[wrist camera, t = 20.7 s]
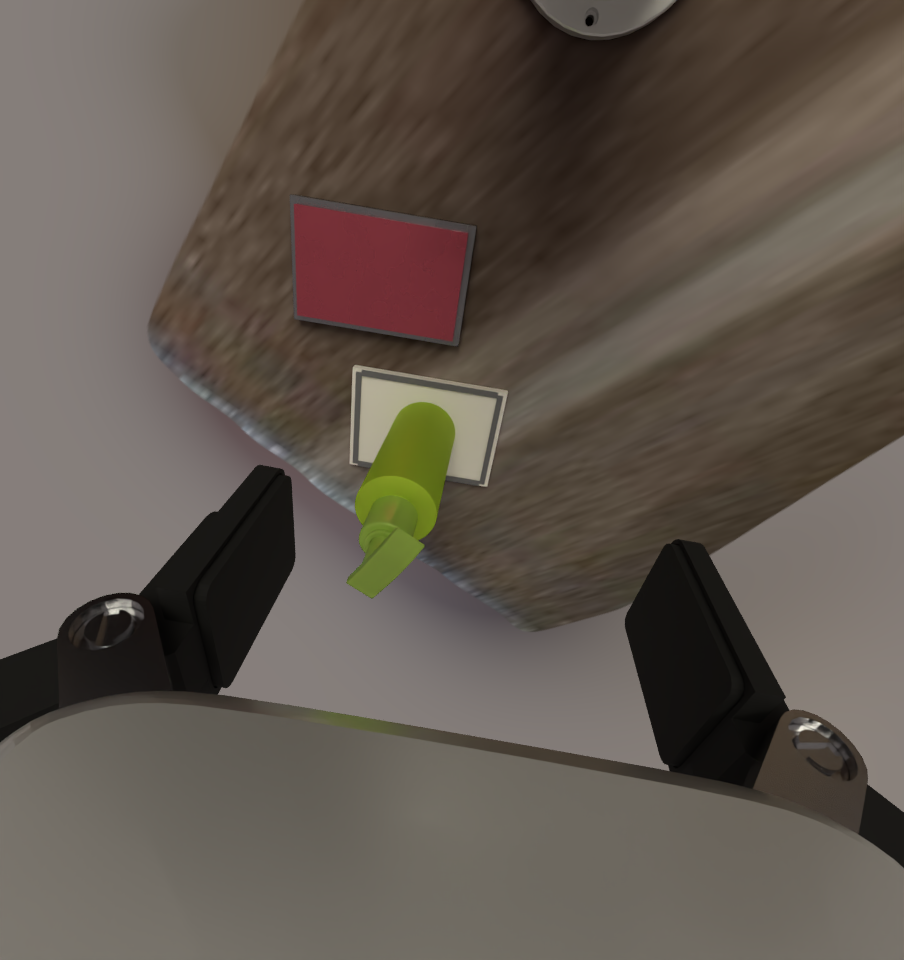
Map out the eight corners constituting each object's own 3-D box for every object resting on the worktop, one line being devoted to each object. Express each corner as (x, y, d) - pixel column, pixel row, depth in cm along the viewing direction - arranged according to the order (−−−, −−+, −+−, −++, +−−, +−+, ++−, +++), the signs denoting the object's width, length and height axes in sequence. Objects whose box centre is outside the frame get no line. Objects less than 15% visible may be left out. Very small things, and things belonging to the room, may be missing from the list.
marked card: (354, 364, 42) (352, 368, 41) (507, 390, 42) (507, 394, 41) (351, 460, 47) (349, 464, 46) (487, 482, 47) (487, 487, 46)
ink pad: (295, 194, 35) (286, 194, 34) (476, 225, 35) (476, 226, 34) (299, 315, 40) (291, 320, 38) (459, 342, 40) (457, 348, 38)
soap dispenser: (475, 420, 43) (452, 570, 26) (430, 468, 46) (383, 630, 29) (424, 380, 41) (365, 512, 24) (382, 433, 44) (303, 581, 27)
